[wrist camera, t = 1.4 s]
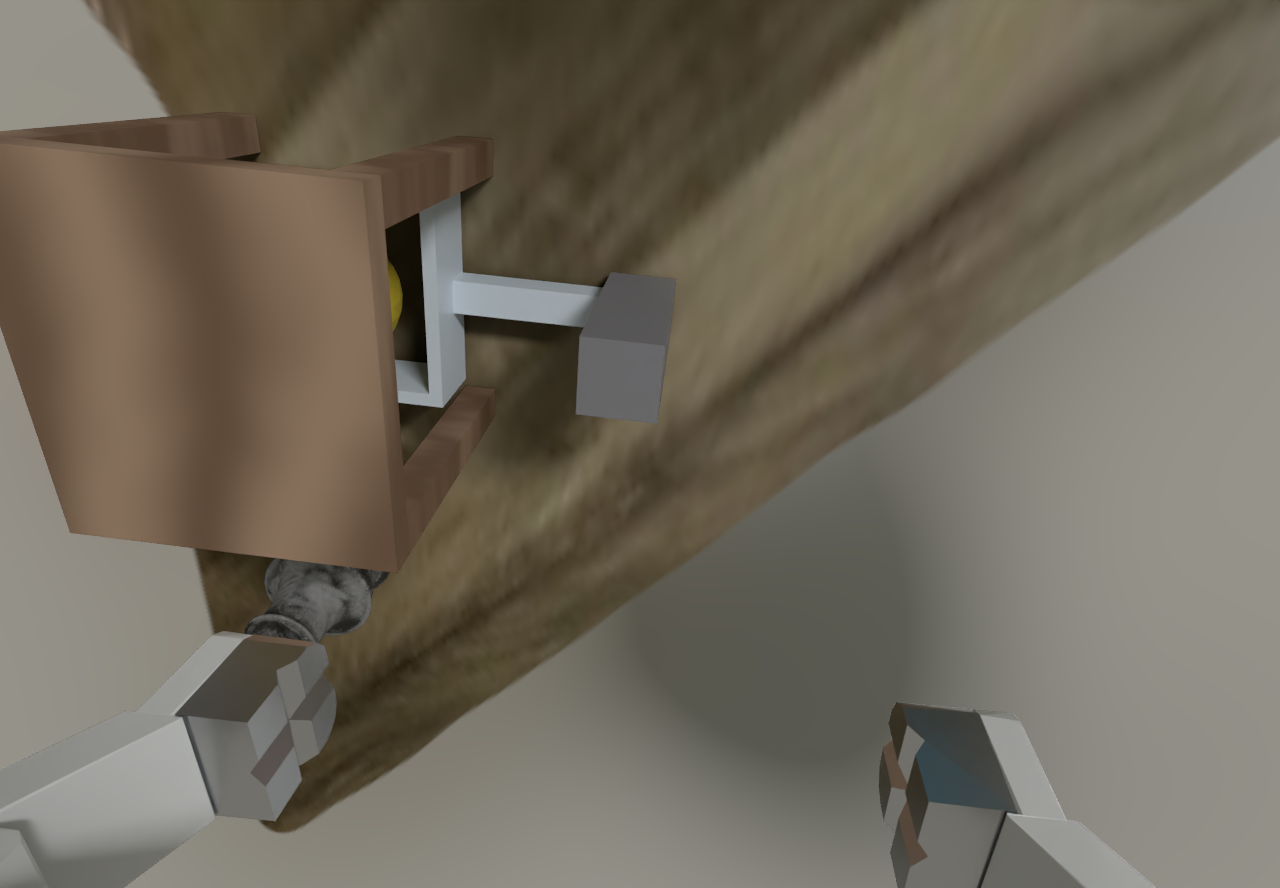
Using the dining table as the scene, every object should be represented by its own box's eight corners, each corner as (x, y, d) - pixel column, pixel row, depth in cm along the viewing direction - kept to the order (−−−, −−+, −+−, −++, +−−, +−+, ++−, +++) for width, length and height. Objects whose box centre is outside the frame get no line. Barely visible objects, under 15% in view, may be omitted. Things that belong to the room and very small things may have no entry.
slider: (286, 358, 37) (167, 439, 29) (256, 164, 32) (108, 195, 24) (662, 401, 36) (649, 495, 28) (683, 208, 32) (675, 255, 24)
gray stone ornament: (311, 496, 41) (170, 646, 30) (409, 539, 41) (305, 701, 31) (287, 569, 43) (149, 731, 33) (379, 609, 44) (274, 780, 33)
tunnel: (268, 389, 38) (70, 532, 26) (222, 111, 32) (-64, 136, 20) (495, 415, 37) (397, 572, 26) (492, 139, 31) (362, 181, 20)
